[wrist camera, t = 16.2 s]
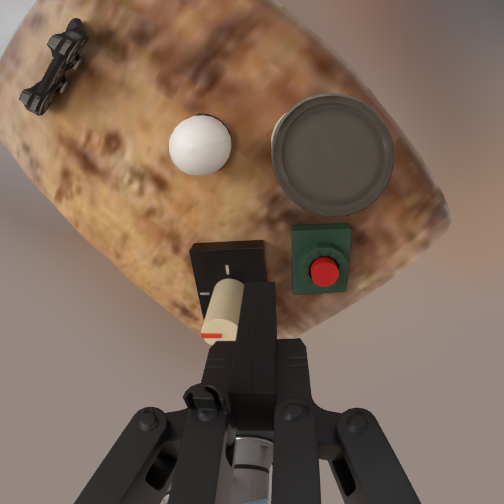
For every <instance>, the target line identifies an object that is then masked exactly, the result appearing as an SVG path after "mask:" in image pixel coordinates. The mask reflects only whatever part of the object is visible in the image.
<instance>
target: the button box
mask: <svg viewBox="0 0 504 504" xmlns="http://www.w3.org/2000/svg"><path fill="white" fill-rule="evenodd" d="M351 233H352V229H351V227H350V226H349V224H348V223H336V224H309V225H291V234H292V288H293V295H300V294H318V293H335V292H346V290H347V281H348V271H349V260H350V248H351ZM321 257H329V258H331V259H333V260H334V261H335V263H336V265H337V268H338V270H339V277H338V279H337V281H336V282H335V283H334V284H332V285H330V286H327V287H321V286H318V285H316V284H315V283H314V282H313V280H312V276H311V272H310V268H311V265H312V263H313V262H314V261H315V260H316V259H318V258H321Z"/></svg>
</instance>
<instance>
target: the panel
mask: <svg viewBox="0 0 504 504" xmlns="http://www.w3.org/2000/svg"><path fill="white" fill-rule="evenodd" d="M189 252H190V257H191V262H192V267H193V272H194V277H195V282H196V286H197V291H198V296H199V300H200V305H201V309H202V314H203V318H204V319H205V316H206V313H207V310H208V307H209V303H210V300H211V297H212V294H213V291H214V288H215V285H216V284H217V283H218V282H219V281H221V280H224V279H236V280H238V281H240V282H242V283H243V284H244V283H256V282H266V279H265V264H264V249H263V240H253V241H233V242H214V243H196V244H193V246H192V247H191V249H190V251H189Z"/></svg>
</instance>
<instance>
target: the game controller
mask: <svg viewBox="0 0 504 504" xmlns="http://www.w3.org/2000/svg"><path fill="white" fill-rule="evenodd" d="M87 40H88V36H87V34H86V32H85V30H84V27H83V25H82V22H81V20H80V19H78V18H74V19H72V20H71V21H70V23H69V24H68V26H67V29H66V31H65V32H63V33H61V34H55V35H52V37H51V38H50V39H49V41H48V43H47V46H48V47H49V48H50V49H51V52H52V56H53V57H54V58H53V60H52V62H51V64H50V65H49V67H48V69H47V71H46V73H45V75H44V77H43V78H42V80H41V81H40V82H38V83H37V84H35V85H34V86H33V87H31V88H29V89H24V90H23V91H22V93H21V95H20V98H19V100H20V101H21V102H22V103H23V104H24V106H25V107H26V109H27V110H29V111H30V112H32V113H35V114H37V115H43V114H44V113H45V111H46V110H47V109H48V107H49V106H50V104H51V102H52V100H53V99H54V96H55V94H56V93H57V92H58V91H59V90H60V88H61V90H60V93H63V92H64V91H65V89H66V88H67V86H68V84H69V81H68V80H67V81H66V82H65V84H63V83H64V81H65V79H66V77H65V76H64V74H65V72H66V70H68V71H69V70H70V69H71V68H72V67H73V66H74V65H75V66H74V68H73V70H76V69H77V68H78V67H79V66H80V64H81V63H82V60H83V59H82V57H81V58H80V59H79V60H78V58H79V55H80V54H79V53H80V52H81V50H82V49H83V47H84V46H85V44H86V42H87ZM77 60H78V61H77Z"/></svg>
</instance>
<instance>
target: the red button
mask: <svg viewBox="0 0 504 504" xmlns="http://www.w3.org/2000/svg"><path fill="white" fill-rule="evenodd" d="M310 272H311V276H312V280H313V282H314V283H315V284H316V285H318V286H321V287H327V286H330V285H332V284H334V283H335V282H336V281H337V279H338V277H339V270H338V268H337V265H336V263H335V261H334V260H333V259H331V258H329V257H321V258H318V259H316V260H315V261H314V262H313V263H312V265H311V268H310Z"/></svg>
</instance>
